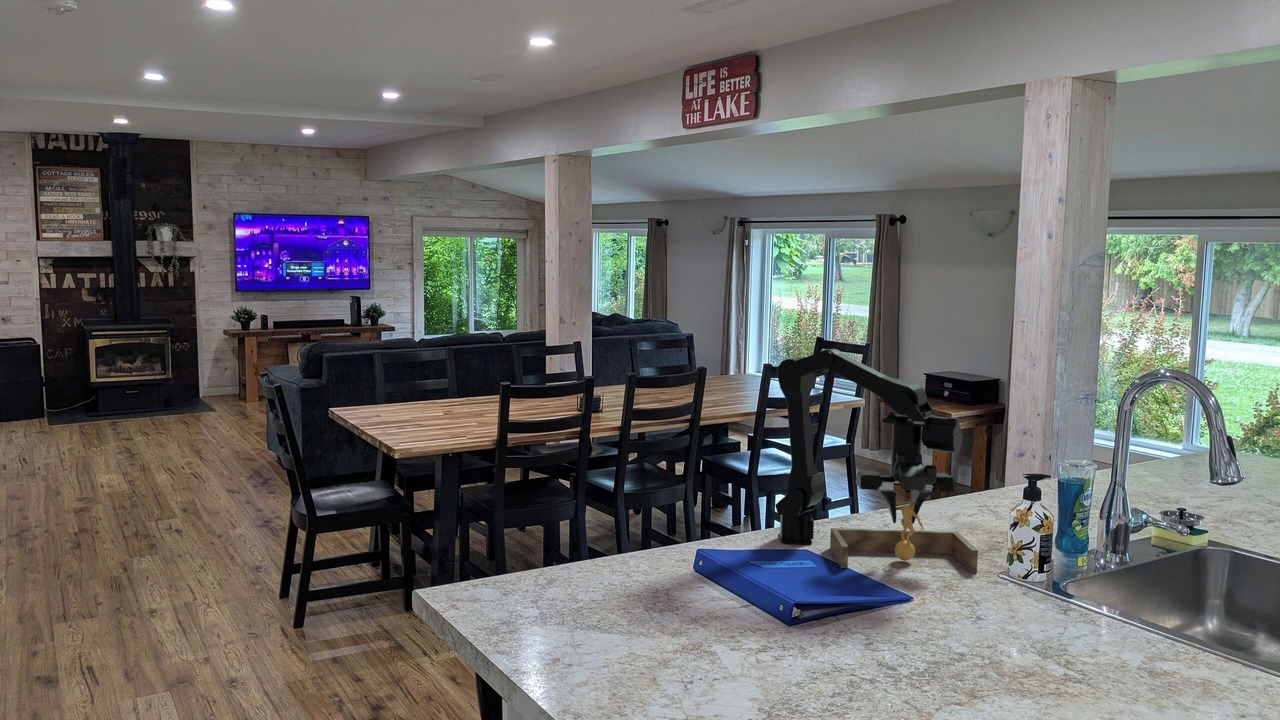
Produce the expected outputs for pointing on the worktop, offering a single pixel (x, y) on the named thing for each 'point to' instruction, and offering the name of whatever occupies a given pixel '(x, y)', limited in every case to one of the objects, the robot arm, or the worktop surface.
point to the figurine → (906, 548)
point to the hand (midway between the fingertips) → (903, 523)
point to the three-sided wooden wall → (888, 540)
